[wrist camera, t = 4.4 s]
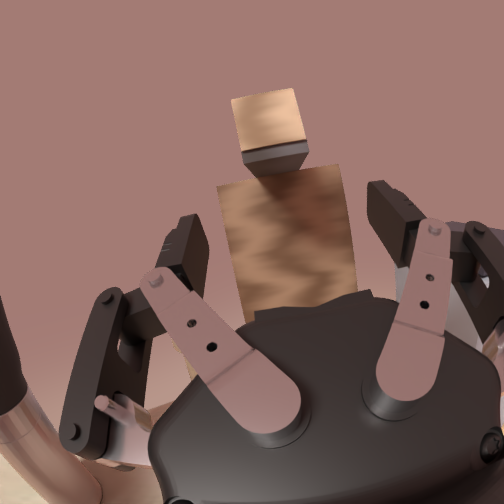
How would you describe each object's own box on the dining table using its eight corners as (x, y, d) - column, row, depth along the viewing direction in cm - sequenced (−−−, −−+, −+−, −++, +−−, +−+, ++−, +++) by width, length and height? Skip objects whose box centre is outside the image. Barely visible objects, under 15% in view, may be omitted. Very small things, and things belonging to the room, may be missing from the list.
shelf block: (272, 433, 31) (216, 186, 26) (275, 380, 43) (237, 192, 38) (359, 419, 29) (338, 163, 24) (343, 369, 42) (319, 176, 37)
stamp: (243, 163, 16) (224, 75, 15) (263, 186, 37) (254, 143, 36) (309, 151, 15) (286, 63, 14) (292, 180, 37) (283, 138, 36)
